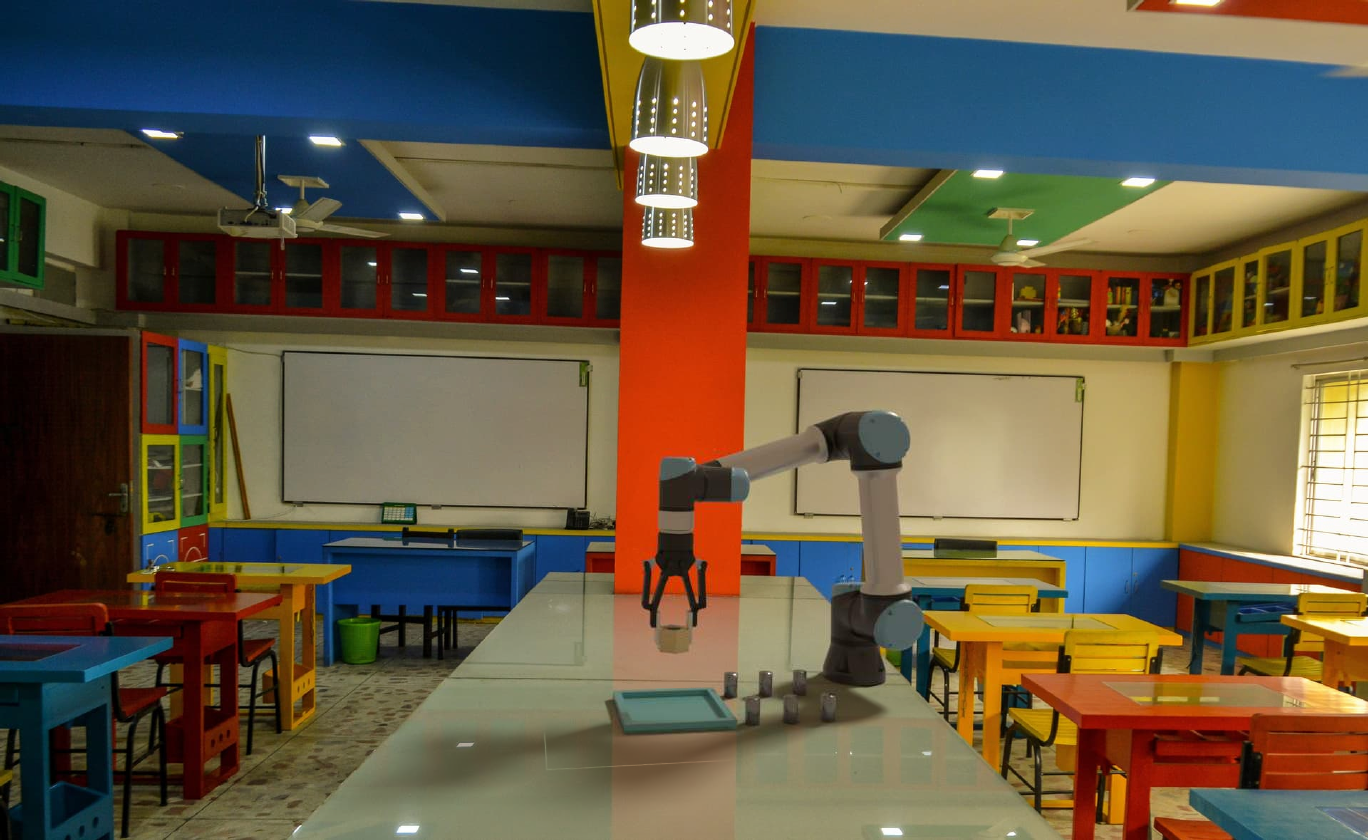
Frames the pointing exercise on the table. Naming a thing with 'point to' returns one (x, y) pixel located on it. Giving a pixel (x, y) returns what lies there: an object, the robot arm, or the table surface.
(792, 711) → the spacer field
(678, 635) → the nut
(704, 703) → the tray
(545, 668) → the table surface
